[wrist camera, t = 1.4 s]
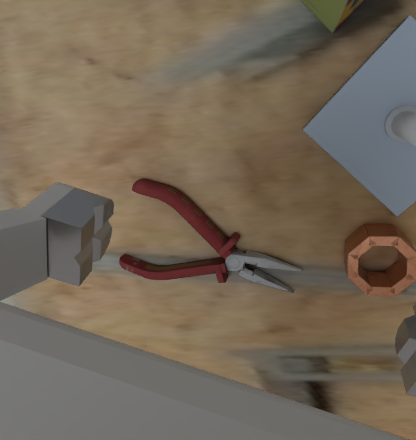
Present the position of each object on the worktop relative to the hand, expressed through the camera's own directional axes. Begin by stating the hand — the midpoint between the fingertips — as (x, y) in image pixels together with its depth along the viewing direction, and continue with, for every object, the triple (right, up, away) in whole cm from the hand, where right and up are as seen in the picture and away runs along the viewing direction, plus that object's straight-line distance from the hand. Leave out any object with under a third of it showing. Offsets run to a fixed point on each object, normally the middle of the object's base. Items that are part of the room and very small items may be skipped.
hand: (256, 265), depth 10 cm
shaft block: (+16, +10, +25) cm, 31 cm away
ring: (+16, -2, +29) cm, 33 cm away
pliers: (-2, -3, +35) cm, 35 cm away
